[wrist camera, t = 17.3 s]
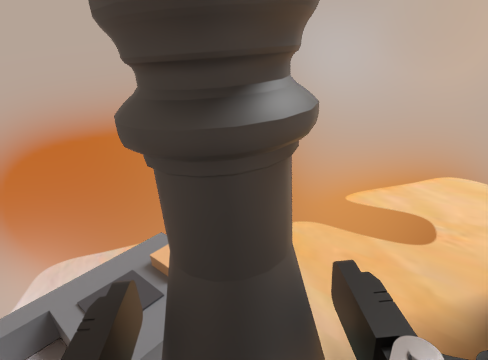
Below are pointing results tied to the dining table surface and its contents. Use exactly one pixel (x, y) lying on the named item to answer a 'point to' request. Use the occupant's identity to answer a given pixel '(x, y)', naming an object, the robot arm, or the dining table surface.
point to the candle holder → (221, 166)
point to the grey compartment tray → (85, 294)
